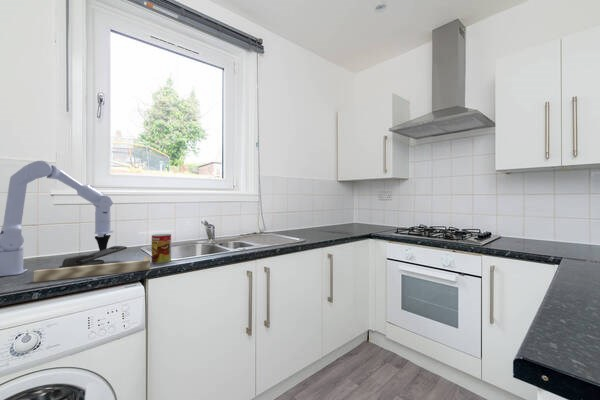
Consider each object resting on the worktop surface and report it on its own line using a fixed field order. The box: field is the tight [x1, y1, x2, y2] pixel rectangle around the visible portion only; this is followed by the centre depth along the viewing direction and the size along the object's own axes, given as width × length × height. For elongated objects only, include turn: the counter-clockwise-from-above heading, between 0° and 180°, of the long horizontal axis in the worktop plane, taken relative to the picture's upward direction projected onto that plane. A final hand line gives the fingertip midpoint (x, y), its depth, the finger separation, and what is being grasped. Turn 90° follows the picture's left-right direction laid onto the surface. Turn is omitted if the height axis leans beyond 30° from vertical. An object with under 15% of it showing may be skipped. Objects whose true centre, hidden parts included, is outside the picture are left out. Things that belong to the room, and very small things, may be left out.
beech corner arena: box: [33, 254, 151, 283], centre depth 105 cm, size 34×13×4 cm, turn 119°
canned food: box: [151, 233, 172, 264], centre depth 123 cm, size 8×8×12 cm
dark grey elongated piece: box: [58, 245, 128, 268], centre depth 115 cm, size 9×7×25 cm
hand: (102, 251), depth 126 cm, fingers closed
